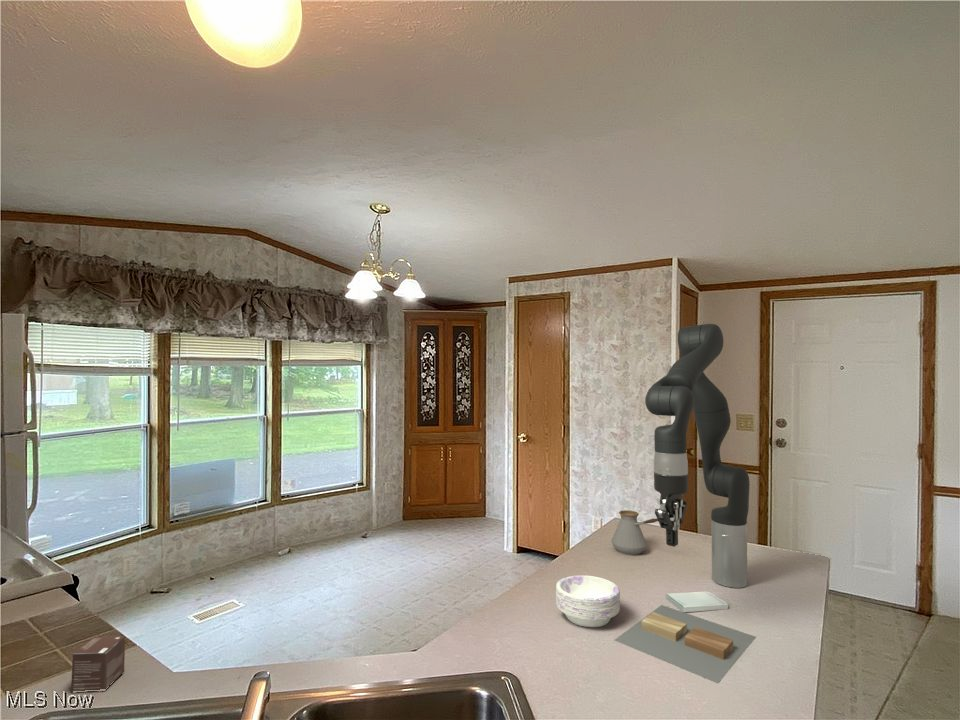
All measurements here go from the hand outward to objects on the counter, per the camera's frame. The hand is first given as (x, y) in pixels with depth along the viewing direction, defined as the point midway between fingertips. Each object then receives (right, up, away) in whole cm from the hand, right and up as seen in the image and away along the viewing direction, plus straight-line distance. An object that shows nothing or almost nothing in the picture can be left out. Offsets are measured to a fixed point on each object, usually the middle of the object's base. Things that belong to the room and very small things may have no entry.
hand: (672, 545), depth 117 cm
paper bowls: (-19, -20, +4) cm, 28 cm away
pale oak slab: (0, -18, 0) cm, 18 cm away
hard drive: (+11, -20, +12) cm, 26 cm away
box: (-118, -18, -22) cm, 121 cm away
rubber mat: (+1, -19, -5) cm, 20 cm away
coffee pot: (+8, -21, +47) cm, 52 cm away
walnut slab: (+7, -18, -7) cm, 20 cm away
